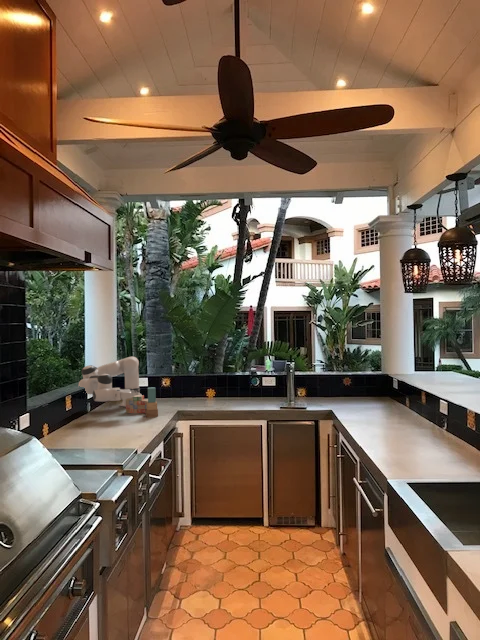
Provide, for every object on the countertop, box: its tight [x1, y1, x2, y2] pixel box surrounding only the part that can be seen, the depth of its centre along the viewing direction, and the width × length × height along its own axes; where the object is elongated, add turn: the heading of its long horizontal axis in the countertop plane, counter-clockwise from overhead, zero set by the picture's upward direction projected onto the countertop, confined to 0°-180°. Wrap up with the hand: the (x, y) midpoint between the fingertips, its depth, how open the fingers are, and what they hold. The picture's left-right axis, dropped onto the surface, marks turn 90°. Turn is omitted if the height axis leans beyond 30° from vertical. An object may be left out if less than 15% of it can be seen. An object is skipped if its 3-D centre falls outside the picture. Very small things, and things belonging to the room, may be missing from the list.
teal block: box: [147, 386, 157, 403], centre depth 342 cm, size 5×5×10 cm
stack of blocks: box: [125, 394, 148, 414], centre depth 357 cm, size 21×6×12 cm, turn 80°
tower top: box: [147, 400, 158, 410], centre depth 342 cm, size 7×7×5 cm
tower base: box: [144, 408, 159, 418], centre depth 342 cm, size 8×8×5 cm
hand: (137, 392), depth 339 cm, fingers open, 8 cm apart
